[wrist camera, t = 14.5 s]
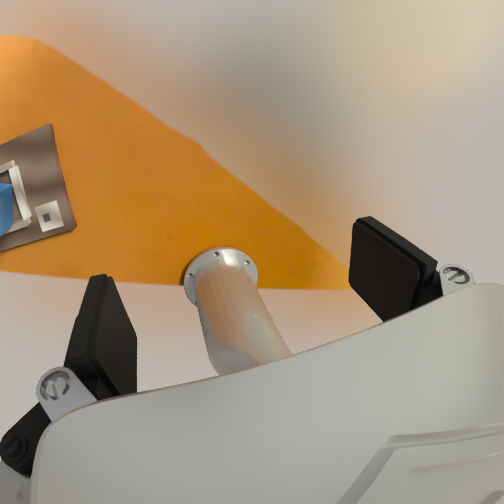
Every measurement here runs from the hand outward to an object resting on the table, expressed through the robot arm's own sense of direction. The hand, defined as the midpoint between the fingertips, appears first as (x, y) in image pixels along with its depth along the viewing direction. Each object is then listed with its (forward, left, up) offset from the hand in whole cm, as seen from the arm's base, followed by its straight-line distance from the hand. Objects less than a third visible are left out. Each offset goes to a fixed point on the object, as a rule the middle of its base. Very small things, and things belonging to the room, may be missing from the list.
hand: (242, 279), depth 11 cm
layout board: (+1, +28, -33) cm, 44 cm away
